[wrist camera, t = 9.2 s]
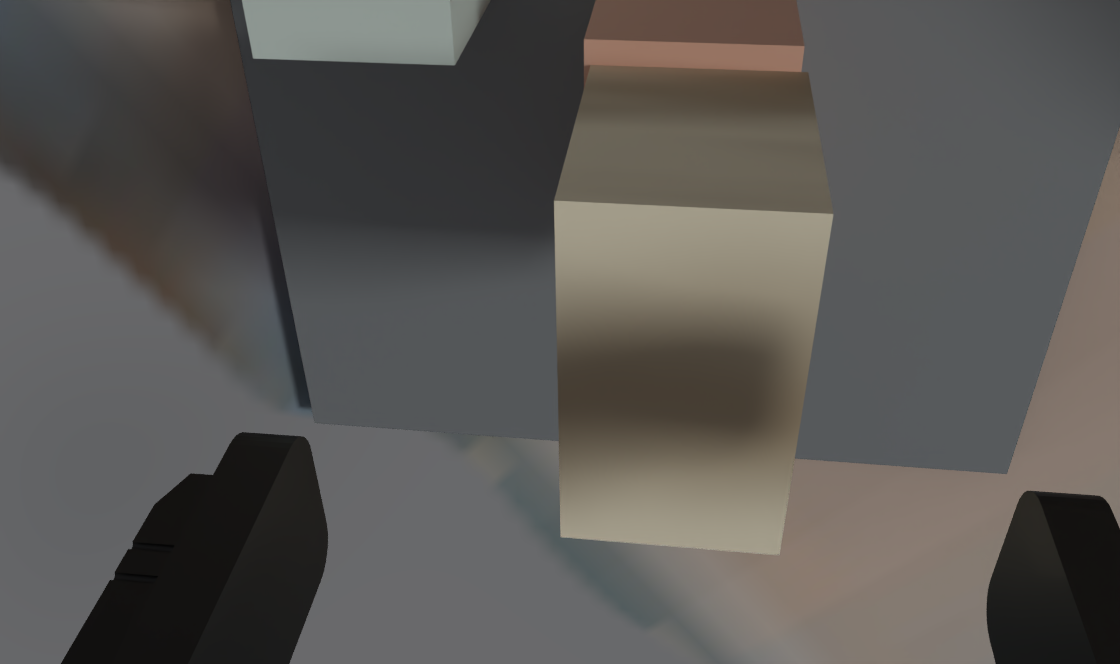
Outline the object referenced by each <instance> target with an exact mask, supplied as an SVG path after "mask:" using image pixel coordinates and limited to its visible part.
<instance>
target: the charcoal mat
mask: <svg viewBox="0 0 1120 664" xmlns="http://www.w3.org/2000/svg"><path fill="white" fill-rule="evenodd" d="M595 1H596V0H491V1H490V2H489V4H488V6H487V8H486V10H485V12H484V13H483V15H482V17H481V19H480V21H479V22H478V24H477V26H476V28H475V30H474V31H473V33H472V35H471V37H470V39H469V41H468V42H467V44H466V46H465V48H464V50H463V51H462V53H461V55H460V57H459V59H458V61H457V62H456V64H455V65H427V64H398V63H369V62H340V61H311V60H281V59H253V55H252V50H251V45H250V40H249V35H248V29H247V24H246V19H245V14H244V9H243V3H242V0H230V2H231V7H232V12H233V17H234V22H235V27H236V32H237V37H238V42H239V47H240V52H241V57H242V62H243V67H244V72H245V77H246V82H247V87H248V92H249V97H250V102H251V107H252V112H253V117H254V122H255V127H256V132H257V137H258V142H259V147H260V152H261V157H262V162H263V167H264V172H265V177H266V182H267V187H268V192H269V197H270V202H271V207H272V212H273V217H274V222H275V227H276V232H277V237H278V242H279V247H280V252H281V257H282V262H283V267H284V272H285V277H286V282H287V287H288V292H289V297H290V302H291V307H292V312H293V317H294V322H295V327H296V332H297V337H298V342H299V347H300V352H301V357H302V362H303V367H304V372H305V377H306V382H307V387H308V392H309V397H310V402H311V407H312V412H313V417H314V422H315V423H322V424H337V425H349V426H362V427H376V428H390V429H403V430H417V431H430V432H444V433H457V434H471V435H484V436H498V437H512V438H525V439H539V440H552V441H559V426H558V377H557V327H556V278H555V228H554V199H555V195H556V191H557V188H558V184H559V180H560V176H561V173H562V169H563V165H564V162H565V158H566V154H567V150H568V147H569V143H570V139H571V136H572V132H573V128H574V124H575V121H576V117H577V113H578V110H579V106H580V102H581V99H582V95H583V91H584V37H585V34H586V31H587V27H588V24H589V21H590V17H591V14H592V11H593V7H594V4H595ZM796 1H797V7H798V12H799V18H800V23H801V29H802V34H803V40H804V45H805V47H804V55H803V63H802V71H801V72H808V74H809V79H810V85H811V90H812V96H813V102H814V107H815V113H816V119H817V124H818V130H819V135H820V141H821V147H822V152H823V158H824V163H825V169H826V175H827V180H828V186H829V191H830V197H831V203H832V208H833V220H832V227H831V233H830V239H829V246H828V252H827V258H826V265H825V271H824V277H823V283H822V290H821V296H820V302H819V309H818V315H817V321H816V328H815V334H814V340H813V346H812V353H811V359H810V365H809V372H808V378H807V384H806V390H805V397H804V403H803V409H802V416H801V422H800V428H799V434H798V441H797V447H796V453H795V458H796V459H810V460H823V461H837V462H851V463H864V464H878V465H891V466H905V467H918V468H932V469H946V470H959V471H973V472H986V473H1000V474H1007V472H1008V469H1009V466H1010V463H1011V460H1012V456H1013V453H1014V450H1015V447H1016V444H1017V441H1018V438H1019V435H1020V432H1021V429H1022V426H1023V423H1024V420H1025V416H1026V413H1027V410H1028V407H1029V404H1030V401H1031V398H1032V395H1033V392H1034V389H1035V386H1036V383H1037V379H1038V376H1039V373H1040V370H1041V367H1042V364H1043V361H1044V358H1045V355H1046V352H1047V349H1048V346H1049V343H1050V339H1051V336H1052V333H1053V330H1054V327H1055V324H1056V321H1057V318H1058V315H1059V312H1060V309H1061V306H1062V303H1063V299H1064V296H1065V293H1066V290H1067V287H1068V284H1069V281H1070V278H1071V275H1072V272H1073V269H1074V266H1075V263H1076V259H1077V256H1078V253H1079V250H1080V247H1081V244H1082V241H1083V238H1084V235H1085V232H1086V229H1087V226H1088V223H1089V219H1090V216H1091V213H1092V210H1093V207H1094V204H1095V201H1096V198H1097V195H1098V192H1099V189H1100V186H1101V182H1102V179H1103V176H1104V173H1105V170H1106V167H1107V164H1108V161H1109V158H1110V155H1111V152H1112V149H1113V146H1114V142H1115V139H1116V136H1117V133H1118V130H1119V127H1120V0H796Z"/></svg>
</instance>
